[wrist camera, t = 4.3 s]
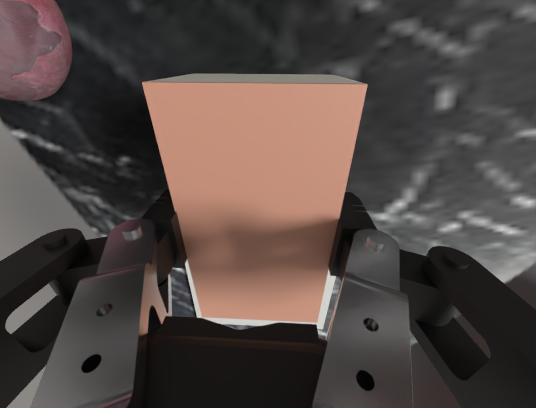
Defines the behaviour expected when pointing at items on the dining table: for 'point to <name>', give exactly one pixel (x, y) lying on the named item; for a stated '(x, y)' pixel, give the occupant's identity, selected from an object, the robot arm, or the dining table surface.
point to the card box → (257, 184)
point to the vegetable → (32, 49)
